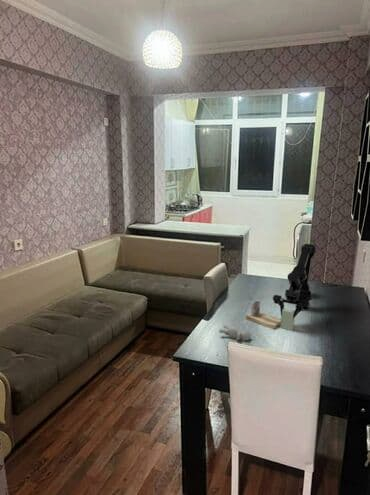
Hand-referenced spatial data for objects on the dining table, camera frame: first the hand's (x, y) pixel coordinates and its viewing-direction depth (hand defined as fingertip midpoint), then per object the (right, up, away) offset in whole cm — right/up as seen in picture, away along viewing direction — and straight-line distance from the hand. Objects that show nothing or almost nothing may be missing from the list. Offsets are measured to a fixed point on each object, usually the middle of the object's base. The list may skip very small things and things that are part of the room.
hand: (287, 316), depth 187 cm
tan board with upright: (-9, -5, +11) cm, 15 cm away
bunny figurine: (-28, -9, -7) cm, 31 cm away
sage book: (+1, -7, +3) cm, 7 cm away
